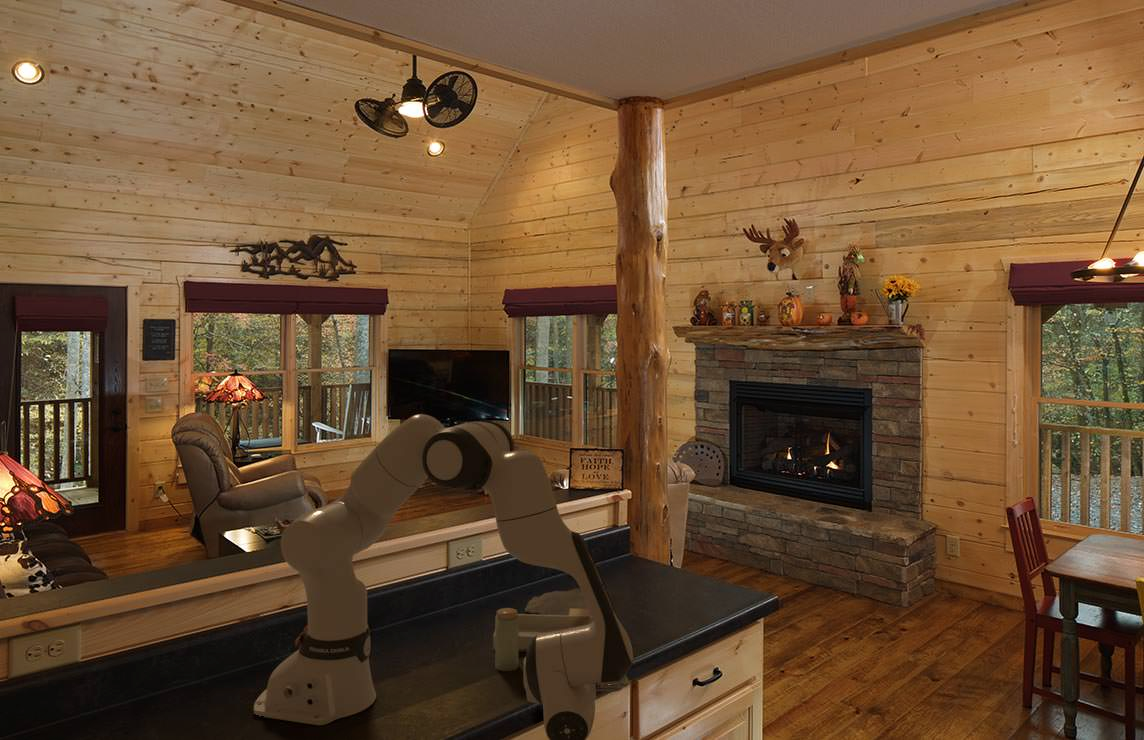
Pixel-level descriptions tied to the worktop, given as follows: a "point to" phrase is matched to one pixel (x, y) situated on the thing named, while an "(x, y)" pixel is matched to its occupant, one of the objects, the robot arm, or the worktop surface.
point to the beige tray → (538, 627)
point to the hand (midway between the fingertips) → (576, 654)
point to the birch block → (579, 617)
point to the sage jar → (506, 639)
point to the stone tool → (557, 602)
